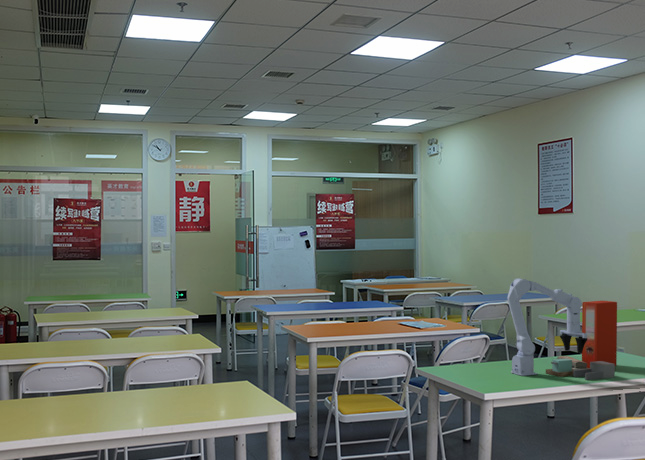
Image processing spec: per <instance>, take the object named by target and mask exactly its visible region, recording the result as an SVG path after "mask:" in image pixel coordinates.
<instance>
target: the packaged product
mask: <svg viewBox="0 0 645 460" xmlns="http://www.w3.org/2000/svg"><path fill="white" fill-rule="evenodd" d="M556 359H570V360H572V369H575V370H581V369H590V368H586V367H587V363H585V362H583V361H582V360H579V359H577V358H574V357H572V356H568V355H566V356H565V355H564V356H563V355H560V356H557V357H556Z"/></svg>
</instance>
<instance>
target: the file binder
mask: <svg viewBox="0 0 645 460" xmlns="http://www.w3.org/2000/svg"><path fill="white" fill-rule="evenodd" d="M581 303H582V306H581V308H582V311H581V312H582V317H581V318H582V321H581V332H582V333H586V334H587V341H586V343H585V345H584V348H583V351H582V353H581V361H583V362H585V363H587V367H586V368H590V362H597V361H603V362H608V363H613V364H615V367H617V363H618V361H617V357H618V356H617V352H618V349H617V348H618V347H617V345H618V343H617V342H618V341H617V340H618V302H617V301H612V300H611V301H610V300H594V301H593V300H591V301H581Z"/></svg>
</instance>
